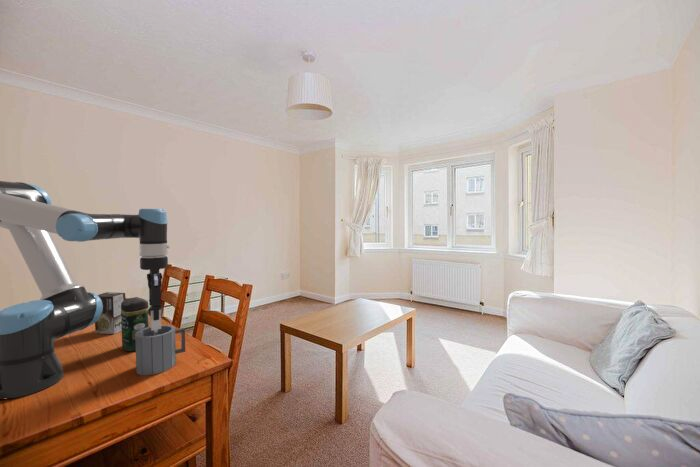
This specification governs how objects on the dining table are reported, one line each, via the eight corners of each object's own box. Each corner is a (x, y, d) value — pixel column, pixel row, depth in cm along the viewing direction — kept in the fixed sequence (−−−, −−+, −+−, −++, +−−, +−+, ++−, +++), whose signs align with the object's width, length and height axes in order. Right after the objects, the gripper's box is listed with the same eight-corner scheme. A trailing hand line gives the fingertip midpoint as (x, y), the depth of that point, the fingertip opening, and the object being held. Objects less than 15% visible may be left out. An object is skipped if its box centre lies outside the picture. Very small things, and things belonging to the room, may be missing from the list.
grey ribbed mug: (136, 378, 91) (135, 340, 90) (135, 364, 99) (134, 329, 99) (187, 365, 99) (187, 330, 99) (182, 353, 108) (182, 321, 107)
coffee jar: (119, 346, 113) (117, 298, 112) (143, 340, 119) (142, 294, 118) (127, 354, 107) (125, 303, 106) (152, 347, 113) (151, 298, 112)
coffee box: (127, 328, 131) (126, 292, 130) (114, 334, 124) (113, 296, 123) (108, 327, 132) (107, 291, 131) (94, 333, 125) (93, 295, 124)
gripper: (170, 258, 92) (172, 332, 93) (164, 253, 106) (166, 317, 107) (141, 260, 87) (143, 338, 89) (138, 254, 101) (140, 322, 102)
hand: (155, 327), depth 98 cm, fingers closed on plunger, 4 cm apart
